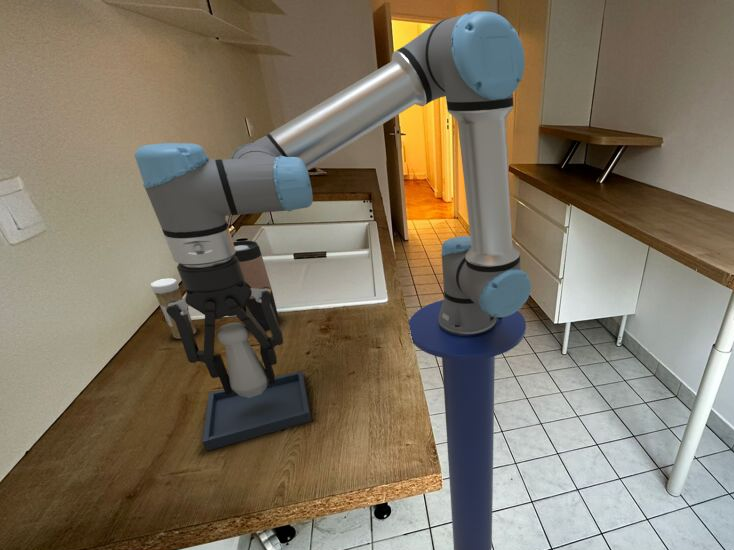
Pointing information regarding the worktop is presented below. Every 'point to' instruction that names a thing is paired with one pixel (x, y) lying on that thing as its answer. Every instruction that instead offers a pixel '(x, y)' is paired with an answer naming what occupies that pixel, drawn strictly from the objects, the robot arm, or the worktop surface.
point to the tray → (256, 412)
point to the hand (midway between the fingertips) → (251, 384)
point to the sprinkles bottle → (166, 293)
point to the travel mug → (254, 277)
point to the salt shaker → (242, 361)
